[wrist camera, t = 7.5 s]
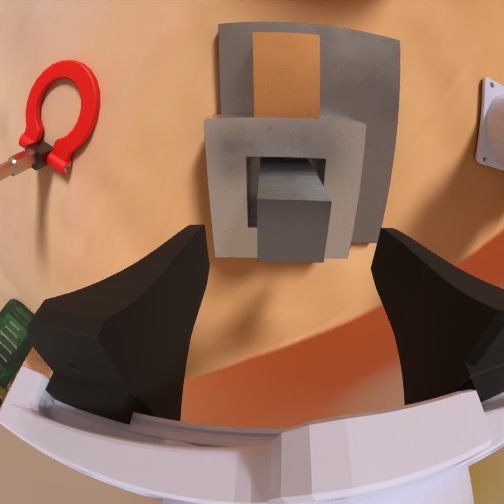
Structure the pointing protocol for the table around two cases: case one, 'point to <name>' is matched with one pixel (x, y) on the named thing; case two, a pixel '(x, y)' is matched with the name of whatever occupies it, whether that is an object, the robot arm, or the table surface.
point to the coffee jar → (13, 343)
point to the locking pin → (291, 211)
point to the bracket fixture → (303, 125)
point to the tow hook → (36, 148)
